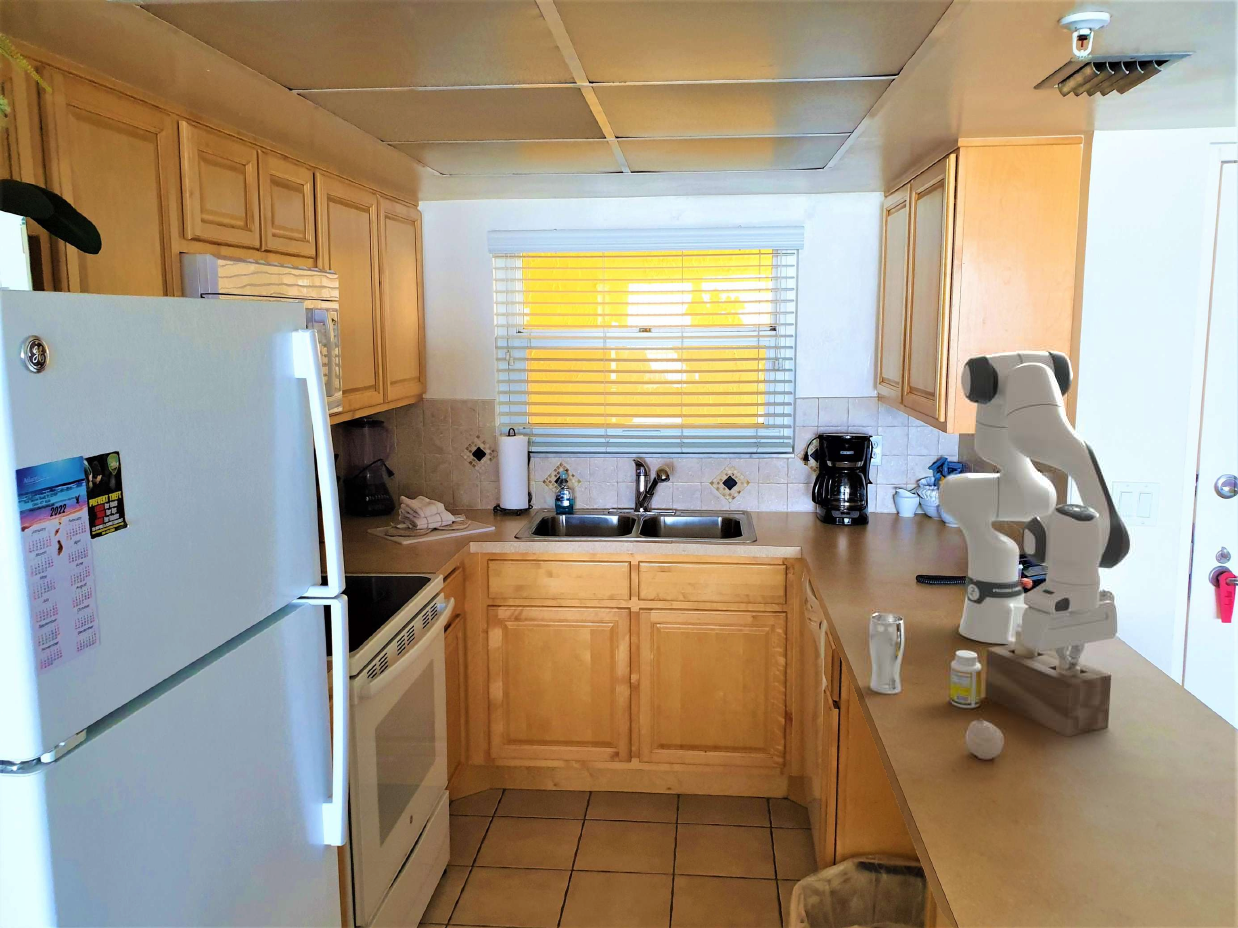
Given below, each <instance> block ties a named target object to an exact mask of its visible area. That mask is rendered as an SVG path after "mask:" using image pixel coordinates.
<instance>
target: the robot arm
mask: <svg viewBox="0 0 1238 928" xmlns="http://www.w3.org/2000/svg"><path fill="white" fill-rule="evenodd" d="M960 377H961V379H960V383H961V388H962V391H963V394H964V395H963V396H964V397H965V398H966V399H967V400H968V401H970V402H971V403H975V404H976V410H975V426H974V427H975V428H974V441H973V446H974V451H975V452H976V454H977V455H978V456H979V457H980V458H981V459H982V460H983V461H985V462H988V463H990V464H992V465H994V466H995V467H997V468H998V469H1000V470H1001V471H1000V472H997V473H986V472H985V473H984V472H983V473H980V472H977V473H976V472H965V473H964V472H963V473H958V474H952V475H948V476H946V477H945V478H944V479H943V480H942V482H941V483H940V486H939V487H938V492H937V499H938V504H939V506H940V508H941V510H942V512H943V513H945V514H946V516H947V517H949V518H950V519H952V520H953V521H954V522H955V523H956V524H957V526H958V527H959V529H960V530H961V531H962V533H963V535H964V538H965V541H966V545H967V546H966V547H967V556H968V557H967V558H968V559H967V560H968V561H967V562H968V568H967V569H968V570H967V572H968V573H967V574H966V577H965V591H966V595H965V601H964V606H963V612H962V618H961V620H960V625H959V628H958V633H959V634H960V635H961V636H963V637H965V638H968V639H971V640H973V641H978V642H982V643H990V644H1002V645H1003V644H1004V645H1010V644H1015V637H1016V631H1018V630H1021V642H1022V644H1023V645H1024V647H1026V648H1028V649H1030V650H1033V651H1035V652H1042V651H1047V650H1048V651H1051V650H1054V651H1055V653H1056V654H1057V655H1058V657H1059V666H1060V667H1061V668H1063V669H1069V668H1074V667H1078V662H1079V659H1080V657H1081V656H1082V654H1083V652H1084V650H1085V644H1090V643H1095V642H1101V641H1106V640H1112V639H1114V638H1115V637H1116V635H1117V634H1118V613H1117V606H1116V604H1115V595H1114V594H1113V592H1112V591H1110V590H1109V589H1105V588H1103V589H1101V577H1100V573H1099V569H1112V568H1114V567H1116V566H1118V565H1119V563H1121V562H1122V561H1123V560H1124V559H1125V558H1126V557H1127V555H1128V554H1129V552H1130V548H1131V540H1130V535H1129V531H1128V529H1127V527H1126V525H1125V523H1124V521H1123V520H1122V518H1121V515H1119V513H1118V511H1117V508H1116V506H1115V504H1114V501H1113V498H1112V496H1111V493H1110V491H1109V489H1108V486H1107V483H1106V479H1105V477H1104V475H1103V471H1102V469H1101V467H1100V464H1099V462H1098V459H1097V457H1096V455H1095V452H1094V450H1093V448H1092V446H1091V444H1090V443H1089V441H1088V440H1086V439H1085V438H1084V437H1081V436H1080V435H1079V434H1078V433H1077V432H1076V431H1075V430H1074V428H1073V427H1072V425H1071V424H1070V422H1069V420H1068V417H1067V415H1066V409H1065V405H1064V400H1063V397H1064V396H1065V395H1067V393H1069V391H1070V389H1071V386H1072V380H1073V370H1072V365H1071V361H1070V359H1069V358H1068V356H1066V354H1065V353H1063V352H1059V351H1053V350H1046V351H1033V350H1031V351H1030V350H1025V351H1023V350H1021V351H1020V350H1019V351H1018V350H1017V351H1016V350H1015V351H1014V352H1004V353H997V354H991V355H989V354H988V355H986V354H982V355H978V356H974V357H971V358H969V359H968V360H967V361H966V362H965V363H964V365H963V369H962V371H961V376H960ZM1031 460H1032V461H1034V462H1039V463H1042V464H1045V465H1047V466H1051V467H1054V468H1056V469H1057V470H1058V469H1059V470H1060V471H1062V472H1063V473H1065V474H1067V475H1068V476H1069V477H1070V478H1071V479H1072V480H1073V481H1074V484H1075V486H1076V489H1077V491H1078V494H1079V497H1080V500H1081V502H1082V504H1078V503H1077V504H1075V503H1065V504H1064V503H1063V504H1060V505H1057V499H1058V498H1057V497H1058V496H1057V491H1056V488H1055V486H1054V485H1053V483H1052V482H1051V481H1050V480H1049V479H1048V477H1045V476H1044V475H1042V474H1041V473H1040V472H1039V471H1038V470H1037V469H1036V468H1035V466H1034V465H1033V463H1032V461H1031ZM1056 505H1057V506H1056ZM994 521H995V522H996V521H1004V522H1005V521H1007V522H1009V521H1011V522H1012V521H1013V522H1027V523H1026V524H1025V525H1024V526H1023V529H1022V533H1021V534H1022V536H1021V537H1022V538H1021V549H1022V552H1023V554H1024V555H1025V556H1026V557H1027V558H1028V559H1029V560H1030V561H1031V562H1032V563H1034V564H1036V565H1041V566H1047V567H1048V568H1047V572H1046V576H1045V579H1046V580H1045V581H1044V582H1042V583H1041V584H1039V585H1038V586H1036V587H1035V588H1033V589H1032V590H1030V591H1028V592H1026V593H1024V589H1023V587H1024V588H1027V589H1031V588H1032V586H1033V581H1032V580H1031V579H1027V578H1021V579H1020V578H1019V563H1020V562H1019V561H1020V549H1019V546H1018V544H1017V543H1016V542H1015V541H1014V540H1013V539H1011V538H1010V537H1008V536H1006V535H1005V534H1003V533H1001V532H999V531H997V530H995V529H994V527H993V526H992V522H994ZM1100 589H1101V590H1100ZM1068 652H1069V653H1068Z"/></svg>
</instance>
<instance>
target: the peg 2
mask: <svg viewBox="0 0 1238 928" xmlns="http://www.w3.org/2000/svg"><path fill="white" fill-rule="evenodd" d="M1056 671H1058V672H1060V673H1062V674H1065V675H1067V676H1072V675H1077V674H1080V667H1074V668H1069V669H1063V668H1061V667H1060V666H1059V664H1057V665H1056Z"/></svg>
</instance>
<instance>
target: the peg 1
mask: <svg viewBox="0 0 1238 928" xmlns="http://www.w3.org/2000/svg"><path fill="white" fill-rule="evenodd" d="M1015 654H1016V655H1018V656H1021V657H1023V658H1026V659H1027V658H1032V657H1037V652H1035V651H1033V650H1030V649H1028V648H1026V647H1024V645H1023V644H1022V642H1021V630H1018V631H1016V637H1015Z"/></svg>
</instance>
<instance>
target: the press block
mask: <svg viewBox="0 0 1238 928" xmlns="http://www.w3.org/2000/svg"><path fill="white" fill-rule="evenodd" d="M985 660H986V661H985V662H986V663H985V665H986V666H985V690H984V698H987V699H988V700H991V701H993V702H995V703H997V704H999V705H1001V706H1003V707H1005V708H1007V709H1008V710H1011V711H1013V712H1016V713H1017V714H1019V715H1022V716H1024V717H1026V718H1028V719H1029V720H1033V721H1034V722H1036V723H1038V724H1040V725H1042V726H1045V727H1046V728H1048V729H1051V730H1052V731H1054V732H1056V733H1059V734H1061V735H1063V736H1065V737H1072V736H1075V735H1081V734H1084V733H1089V732H1092V731H1097V730H1098V731H1099V730H1102V729H1105V728H1109V720H1110V719H1109V718H1110V717H1109V715H1110V702H1111V701H1110V700H1111V685H1112V684H1111V683H1112V674H1110V673H1108V672H1105V671H1102V670H1100V669H1097V668H1095V667H1092V666H1089V665H1087V664H1084V663H1082V662H1079V661H1078V667H1080V674H1077V675H1072V676H1067V675H1065V674H1062V673H1060V672H1058V671H1056V665H1057V664H1059V657H1058V655H1057V653H1056V652H1054V651H1051V650H1047V651H1042V652H1037V657H1032V658H1027V659H1026V658H1023V657H1021V656H1018V655H1016V654H1015V644H1010V645H1009V644H1004V645H998V646H993V647H990V648H989V647H988V648H986V659H985Z"/></svg>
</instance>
